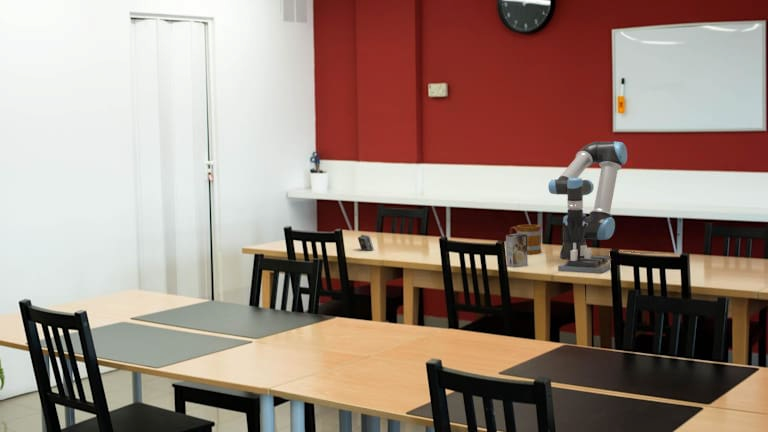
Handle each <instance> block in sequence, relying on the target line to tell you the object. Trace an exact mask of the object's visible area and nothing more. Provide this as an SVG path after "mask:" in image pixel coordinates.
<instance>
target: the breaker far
mask: <svg viewBox="0 0 768 432" xmlns="http://www.w3.org/2000/svg"><path fill="white" fill-rule="evenodd" d="M585 248H588V245H587V244H586V245H582V246H580V256H584V249H585Z"/></svg>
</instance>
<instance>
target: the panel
mask: <svg viewBox="0 0 768 432" xmlns="http://www.w3.org/2000/svg"><path fill="white" fill-rule="evenodd" d="M608 257H609V256H607V255H605V256H603V255H591V258H590V259H584V256H578V257H577V261H571V259H568V260H567V261H566V262H564V263H561V264H560V265H558V266H557V270H558V272H566V271H567V272H569V273H572V272H573V273H587V274H604V273H605V272H607V271H609V270H610V260H611V259H608Z"/></svg>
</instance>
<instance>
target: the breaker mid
mask: <svg viewBox="0 0 768 432" xmlns="http://www.w3.org/2000/svg"><path fill="white" fill-rule="evenodd" d="M591 256H592V248H591V247H587V248H585V249H584V259H590V258H591Z"/></svg>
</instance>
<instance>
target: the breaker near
mask: <svg viewBox="0 0 768 432" xmlns="http://www.w3.org/2000/svg"><path fill="white" fill-rule="evenodd" d="M570 260H571V261H577V250H571V259H570Z"/></svg>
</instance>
